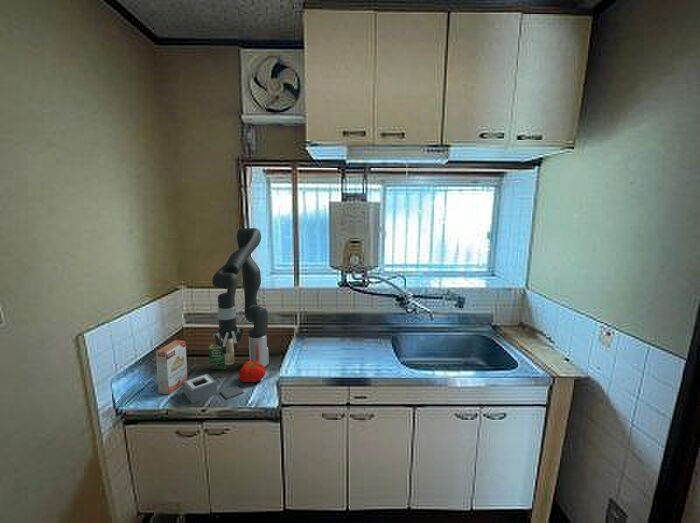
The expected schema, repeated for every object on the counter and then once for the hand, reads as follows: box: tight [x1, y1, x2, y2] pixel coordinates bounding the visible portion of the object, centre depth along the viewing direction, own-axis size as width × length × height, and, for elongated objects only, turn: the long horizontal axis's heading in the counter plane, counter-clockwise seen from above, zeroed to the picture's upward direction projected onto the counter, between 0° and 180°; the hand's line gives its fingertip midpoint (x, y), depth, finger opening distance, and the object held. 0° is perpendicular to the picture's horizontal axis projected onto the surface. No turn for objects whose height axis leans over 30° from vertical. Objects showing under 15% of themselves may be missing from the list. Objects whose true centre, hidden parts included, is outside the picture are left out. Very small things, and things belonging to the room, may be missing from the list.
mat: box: [219, 384, 245, 400], centre depth 155 cm, size 8×8×1 cm
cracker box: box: [155, 339, 189, 395], centre depth 158 cm, size 14×6×21 cm, turn 172°
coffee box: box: [208, 344, 227, 370], centre depth 177 cm, size 8×3×13 cm, turn 88°
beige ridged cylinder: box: [225, 337, 235, 366], centre depth 152 cm, size 4×4×12 cm
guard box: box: [182, 373, 218, 404], centre depth 153 cm, size 11×11×6 cm
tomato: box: [238, 360, 266, 383], centre depth 166 cm, size 14×13×9 cm
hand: (229, 352), depth 152 cm, fingers closed on beige ridged cylinder, 4 cm apart
